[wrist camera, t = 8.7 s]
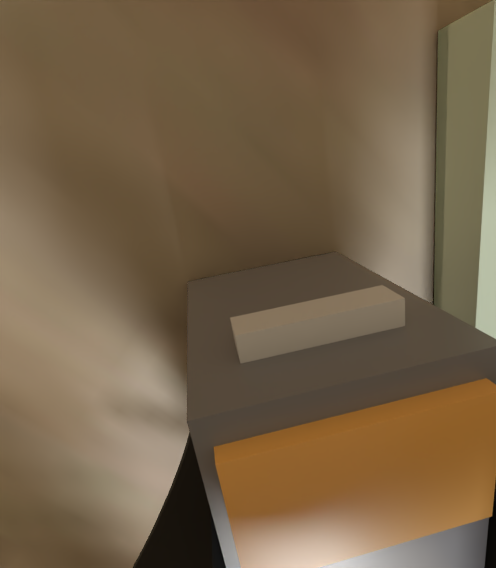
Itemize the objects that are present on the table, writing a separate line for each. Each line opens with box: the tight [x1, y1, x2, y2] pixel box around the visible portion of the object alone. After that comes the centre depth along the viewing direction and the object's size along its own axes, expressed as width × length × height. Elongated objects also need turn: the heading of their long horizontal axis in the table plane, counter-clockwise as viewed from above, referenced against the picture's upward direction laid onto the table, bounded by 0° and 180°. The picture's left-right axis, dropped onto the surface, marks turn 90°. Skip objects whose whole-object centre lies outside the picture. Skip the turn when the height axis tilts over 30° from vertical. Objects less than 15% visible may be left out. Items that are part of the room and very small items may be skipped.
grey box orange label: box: [187, 252, 496, 568], centre depth 9 cm, size 4×10×6 cm, turn 9°
